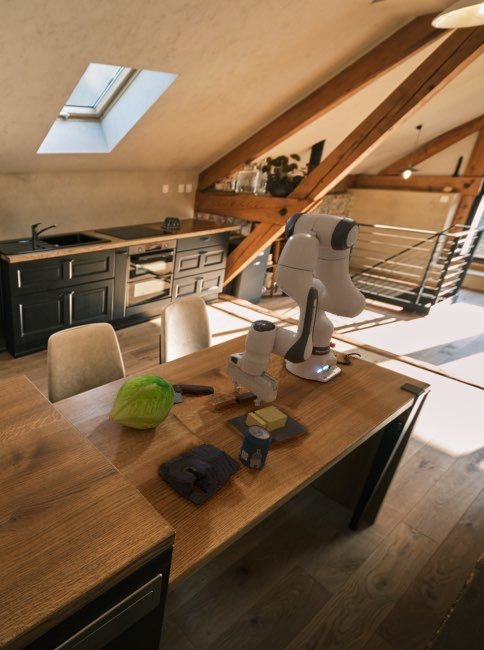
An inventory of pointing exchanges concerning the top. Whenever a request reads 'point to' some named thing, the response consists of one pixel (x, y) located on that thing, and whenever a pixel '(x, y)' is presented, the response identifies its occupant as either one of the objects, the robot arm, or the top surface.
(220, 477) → the folded black cloth
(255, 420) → the butter slice
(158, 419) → the lettuce
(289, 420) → the butter board
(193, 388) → the cleaver
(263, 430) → the soda can
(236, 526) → the top surface
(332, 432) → the top surface
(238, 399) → the knife
